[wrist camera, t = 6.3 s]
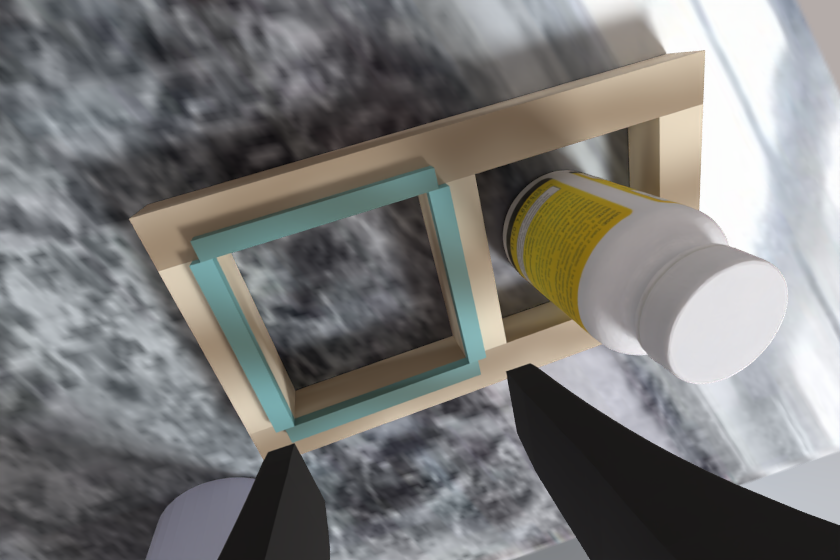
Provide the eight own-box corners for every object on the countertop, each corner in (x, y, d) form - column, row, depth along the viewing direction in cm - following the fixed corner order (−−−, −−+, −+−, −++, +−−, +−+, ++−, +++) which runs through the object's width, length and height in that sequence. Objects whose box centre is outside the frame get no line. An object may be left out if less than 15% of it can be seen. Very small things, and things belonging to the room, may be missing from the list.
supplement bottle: (504, 291, 22) (637, 427, 13) (494, 182, 20) (647, 259, 11) (603, 264, 23) (792, 376, 14) (605, 157, 20) (831, 210, 12)
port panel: (666, 293, 24) (703, 314, 22) (269, 435, 22) (266, 475, 20) (667, 53, 19) (715, 49, 17) (147, 204, 17) (123, 222, 15)
